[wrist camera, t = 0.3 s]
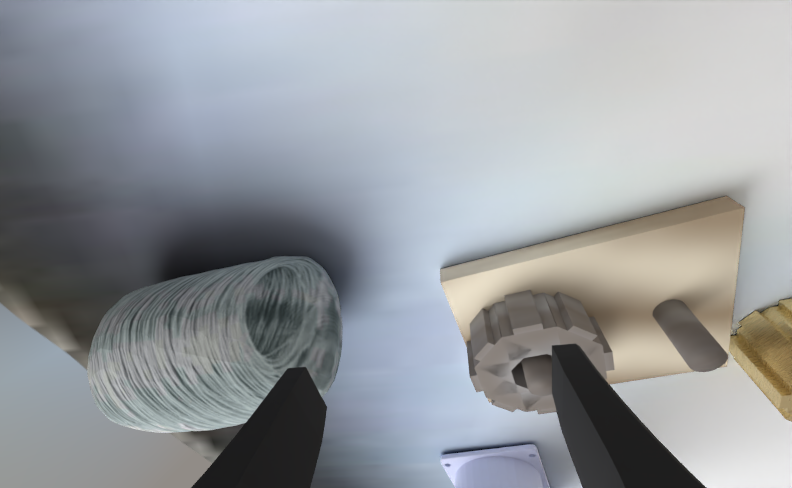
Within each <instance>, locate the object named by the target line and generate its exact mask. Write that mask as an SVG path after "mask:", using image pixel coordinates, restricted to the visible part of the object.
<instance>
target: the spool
mask: <svg viewBox="0 0 792 488" xmlns="http://www.w3.org/2000/svg"><path fill="white" fill-rule="evenodd" d="M341 349H342V318H341V308H340V302H339V298H338V294H337V291H336V289H335V287H334V285H333V283H332V281H331V279H330V277H329V276H328V274H327V272H326V271H325V270H324V268H323V267H322V266H321V265H319V264H318V263H317V262H315V261H314V260H312V259H311V258H309V257H304V256H277V257H272V258H270V259H267V260H262V261H258V262H250V263H244V264H240V265H236V266H232V267H227V268H222V269H216V270H211V271H207V272H204V273H199V274H195V275H189V276H183V277H179V278H176V279H172V280H168V281H164V282H161V283H158V284H155V285H150V286H147V287H143V288H141V289H138V290H136V291H133V292H131V293H129V294H127V295H126V296H124V297H122V298H121V299H120V300H119V301H118V302H117V303H116V304H115V305H114V306H113V307H112V308H111V309H110V310H109V311H108V312H107V313H106V314H105V316H104V317H103V319H102V321H101V323H100V325H99V327H98V329H97V331H96V333H95V335H94V338H93V341H92V345H91V349H90V353H89V357H88V379H89V384H90V389H91V392H92V395H93V398H94V400H95V402H96V405H97V407H98V409H100V410H101V411H102V412H103V413H104V414H105V415H106V417H107V418H108V419H109V420H111V421H113V422H115V423H117V424H120V425H122V426H126V427H130V428H133V429H137V430H144V431H150V432H160V433H170V432H186V431H203V430H214V429H218V428H223V427H229V426H235V425H239V424H242V423H246V422H247V421H248V419H249V418H250V417H251V416H252V414H253V413H254V412H255V410H256V409H257V408H258V406H259V405H260V404H261V402H262V401H263V400H264V399H265V397H266V396H267V395H268V393H269V392H270V391H271V389H272V388H273V387H274V385H275V384H276V383H277V381H278V380H279V379H280V377H281V376H282V375H283V374H284V372H285V371H286V370H287V369H288V368H296V367H306V368H307V370H308V372H309V374H310V376H311V378H312V379H313V381H314V383H315V385H316V387H317V389H318V391H319V393H320V395H321V397H323V396H324V395H325V394H326V393H327V391H328V390H329V388H330V387H331V385H332V383H333V382H334V379H335V376H336V373H337V370H338V366H339V361H340V357H341Z"/></svg>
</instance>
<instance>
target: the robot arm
mask: <svg viewBox="0 0 792 488" xmlns="http://www.w3.org/2000/svg"><path fill="white" fill-rule="evenodd" d="M552 395H553V399H554V403H555V407H556V411H557V414H558V418H559V422H560V426H561V429H562V433H563V435H564V438H565V441H566V444H567V446H568V449H569V452H570V455H571V457H572V460H573V463H574V465H575V468H576V471H577V473H578V476H579V479H580V482H581V484H582V487H583V488H706V487H705V486H704V485H703V484H702V483H701V482H700V481H699V480H698V479H697V478H696V477H695V476H694V475H693V474H691V473H690V472H689V471H688V470H687V469H686V468H685V467H684V466H683V465H682V464H681V463H680V462H679V461H678V460H677V459H676V458H675V457H674V456H673V455H672V453H671V452H670V451H669V450H668V449H667V448H666V447H665V446H664V445H663V444H662V443H661V442H660V441H659V440H658V439H657V438H656V437H655V436H654V435H653V434H652V433H651V432H650V430H649V429H648V428H647V427H646V426H645V425H644V424H643V423H642V422H641V421H640V420H639V418H638V417H637V416H636V415H635V414H634V413H633V412H632V411H631V409H630V408H629V407H628V406H627V405H626V404H625V403H624V402H623V400H622V399H621V398H620V397H619V396H618V394H617V393H616V392H615V391H614V390H613V389H612V387H611V386H610V385H609V384H608V382H607V381H606V380H605V379H604V378H603V376H602V375H601V374H600V373H599V371H598V370H597V369H596V367H595V366H594V365H593V364H592V362H591V361H590V360H589V358H588V357H587V355H586V354H585V353H584V351H583V350H582V349H581V347H580V346H579V345H577V344H576V343H575V344H564V345H552ZM326 410H327V406H326V404H325V402H324V400H323V399H322V397H321V395H320V393H319V391H318V389H317V387H316V385H315V383H314V381H313V379H312V378H311V376H310V374H309V372H308V370H307V368H306V367H296V368H288V369H287V370H286V371H285V372H284V374H283V375H282V376H281V377H280V379H279V380H278V381H277V383H276V384H275V385H274V387H273V388H272V389H271V391H270V392H269V393H268V395H267V396H266V397H265V399H264V400H263V401H262V402H261V404H260V405H259V406H258V408H257V409H256V410H255V412H254V413H253V414H252V416H251V417H250V418H249V419H248V421H247V422H246V423H245V424H244V426H243V427H242V428H241V430H240V431H239V432H238V433H237V435H236V436H235V437H234V438H233V440H232V441H231V442H230V443H229V444H228V446H227V447H226V448H225V449H224V450H223V452H222V453H221V454H220V455H219V456H218V458H217V459H216V460H215V461H214V462H213V464H212V465H211V466H210V467H209V468H208V470H207V471H206V472H205V473H204V474H203V475H202V477H200V479H199V480H198V481H197V482H196V483H195V484H194V485H193V486H192V488H310V486H311V482H312V478H313V474H314V471H315V467H316V463H317V459H318V455H319V451H320V447H321V443H322V438H323V432H324V425H325V418H326ZM440 462H441V464H442V466H443V467H444V469H445V471H446V472H447V474H448V476H449V478H450V479H451V481H452V483H453V484H454V486H455V488H550V486H549V483H548V480H547V477H546V474H545V471H544V468H543V465H542V462H541V459H540V456H539V453H538V450H537V447H536V446H535V445H532V444H528V445H520V446H511V447H503V448H494V449H486V450H478V451H469V452H461V453H452V454H444V455H442V456H440Z"/></svg>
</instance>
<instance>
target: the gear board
mask: <svg viewBox="0 0 792 488" xmlns="http://www.w3.org/2000/svg"><path fill="white" fill-rule="evenodd" d="M744 211H745V207H743V206H741V205H740V204H738V203H737V202H735V201H734V200H732V199H731V198H729V197H728V196H724V197H721V198H717V199H713V200H709V201H705V202H701V203H697V204H693V205H689V206H685V207H681V208H678V209H674V210H670V211H666V212H662V213H658V214H654V215H650V216H646V217H642V218H638V219H634V220H631V221H627V222H623V223H619V224H615V225H611V226H607V227H603V228H599V229H595V230H591V231H588V232H584V233H580V234H576V235H572V236H568V237H564V238H560V239H556V240H552V241H548V242H545V243H541V244H537V245H533V246H529V247H525V248H521V249H517V250H513V251H509V252H505V253H501V254H498V255H494V256H490V257H486V258H482V259H478V260H474V261H470V262H466V263H462V264H458V265H455V266H451V267H447V268H443V269H440V280H441V285H442V287H443V290H444V292H445V295H446V297H447V300H448V302H449V304H450V307H451V309H452V312H453V314H454V317H455V319H456V322H457V324H458V327H459V329H460V332H461V334H462V337H463V339H464V341H465V344H466V346H467V353H468V363H469V373H470V378H471V380H472V383H473V385H474V387H475V390H476V392H480V391H484V393H485V396H486V397H487V398H488V401H489V403H490V402H492V405H495V406H497V407H500V408H503V409H506V410H509V411H511V412H513V411H515V410H516V409H520V410H522V411H525V412H528V411H535V410H537V411H538V414H544V413H551V412H557V411H556V407H555V403H554V399H553V395H552V345H564V344H575V343H576V344H577V345H579V346H580V347H581V349H582V350H583V351H584V353H585V354H586V355H587V357H588V358H589V360H590V361H591V362H592V364H593V365H594V366H595V367H596V369H597V370H598V371H599V373H600V374H601V375H602V376H603V378H604V379H605V380H606V381H607V382H608V384H615V383H621V382H628V381H634V380H641V379H647V378H654V377H661V376H667V375H674V374H680V373H687V372H694V371H697V372H707V371H712V370H715V369H717V368H720V367H726V366H727V362H728V353H729V344H730V335H731V326H732V317H733V309H734V300H735V291H736V282H737V273H738V264H739V255H740V246H741V237H742V229H743V220H744Z"/></svg>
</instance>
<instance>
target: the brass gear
mask: <svg viewBox="0 0 792 488" xmlns="http://www.w3.org/2000/svg"><path fill="white" fill-rule="evenodd" d="M739 324H740V325H741V326H742V327H740V328H739V329H738V330H737V333H736V335H734V336H730V344H729V352H730V353H731V354H732V355H733V356H734V357H735V358H734V359H735V360H736V361H737V363H738V364H739V365H740V366H741V367H742V368H743V370H744V371H745V372H746V373H747V374H748V376H749V377H750V378H751V379H752V380H753V381H754V383H755V384H756V385H757V386H758V387H759V388H760V390H761V391H762V392H763V393H764V394H765V395H766V397H767V398H768V399H769V400H770V401H771V402H772V404H773V405H774V406H775V407H776V408H777V409H778V411H779V412H780V413H781V414H782V415H783V416H784V418H785V419H787V420H789V421H792V298H791V299H785V300H780V301H779V304H778V306H775V307H769V308H767V309H766V310H765V311H763V312H762V313H760V312H758V311H754V312H753V313H751V314H750V315H749V316H747V317H746V318H744V319H743V320H742V321H740V322H739Z"/></svg>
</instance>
